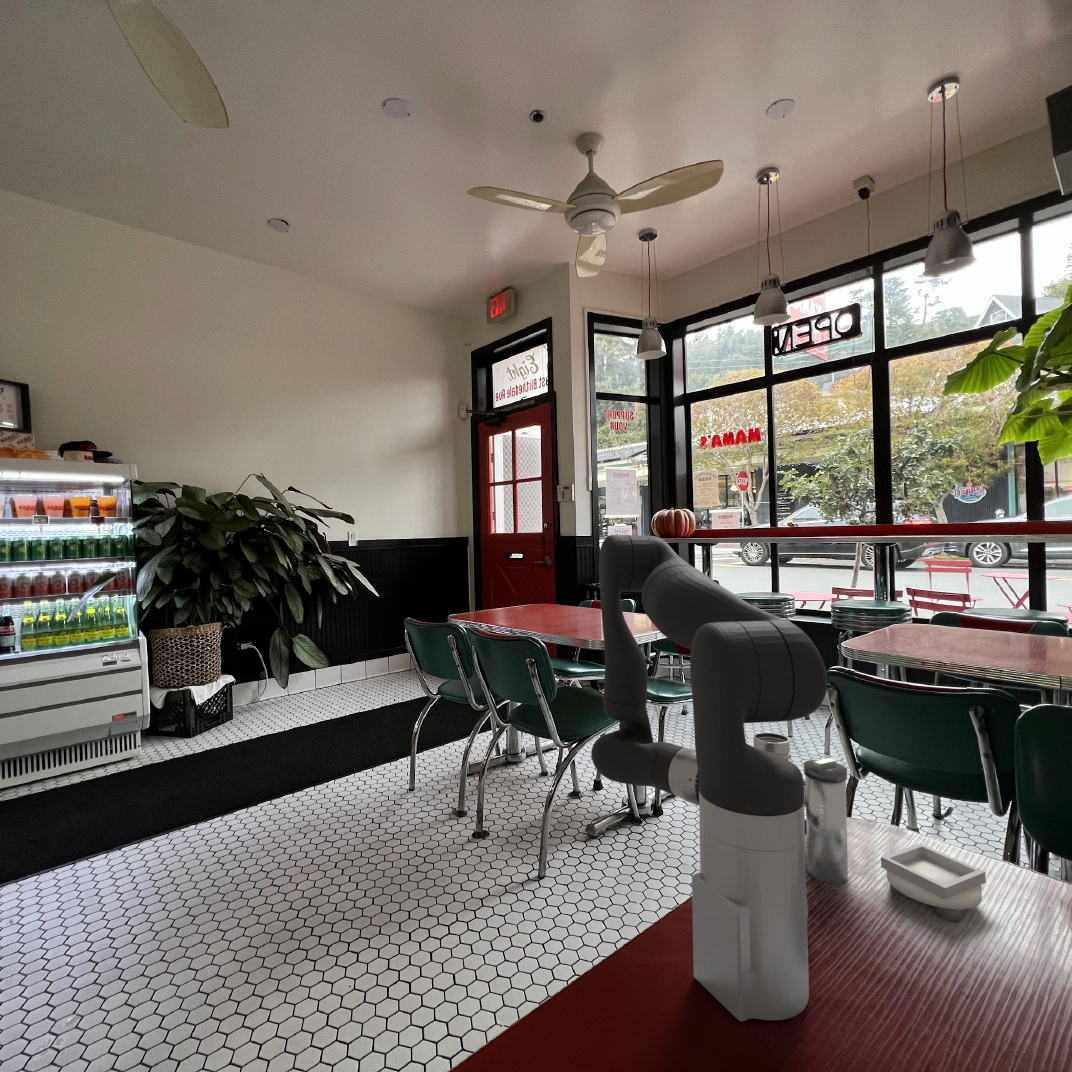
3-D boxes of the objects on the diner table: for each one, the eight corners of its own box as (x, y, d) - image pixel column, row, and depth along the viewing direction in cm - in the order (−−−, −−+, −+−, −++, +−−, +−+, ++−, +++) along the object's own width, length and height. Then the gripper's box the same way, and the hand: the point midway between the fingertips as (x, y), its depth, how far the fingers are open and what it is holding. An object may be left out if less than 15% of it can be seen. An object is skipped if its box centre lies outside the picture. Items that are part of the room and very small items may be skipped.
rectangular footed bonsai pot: (950, 933, 62) (949, 894, 62) (869, 888, 70) (868, 855, 70) (1000, 909, 66) (999, 873, 66) (918, 870, 74) (917, 838, 74)
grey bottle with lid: (830, 888, 70) (828, 770, 71) (797, 868, 75) (795, 757, 75) (858, 878, 72) (855, 764, 73) (824, 859, 77) (822, 752, 77)
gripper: (677, 766, 82) (793, 803, 69) (734, 743, 91) (845, 772, 79) (678, 821, 82) (794, 868, 69) (736, 793, 91) (847, 830, 78)
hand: (821, 817), depth 74 cm, fingers open, 8 cm apart
